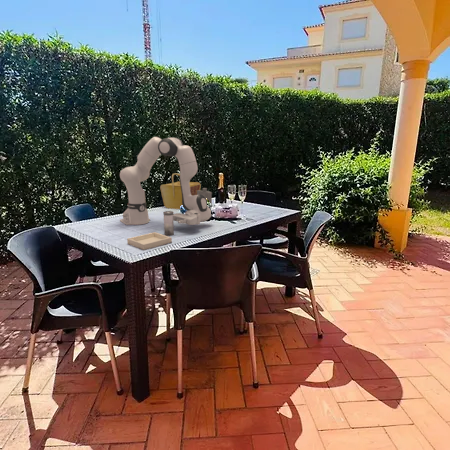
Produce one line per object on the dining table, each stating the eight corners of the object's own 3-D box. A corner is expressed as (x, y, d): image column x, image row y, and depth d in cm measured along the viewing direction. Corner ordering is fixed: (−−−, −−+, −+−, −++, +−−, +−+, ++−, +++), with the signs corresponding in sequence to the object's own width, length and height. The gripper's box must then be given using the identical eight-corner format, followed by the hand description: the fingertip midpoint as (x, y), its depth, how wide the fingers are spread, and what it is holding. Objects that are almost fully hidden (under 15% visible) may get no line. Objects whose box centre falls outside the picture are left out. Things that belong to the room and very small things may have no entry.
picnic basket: (177, 202, 294) (176, 170, 287) (201, 204, 285) (201, 171, 278) (160, 208, 268) (158, 173, 260) (186, 210, 259) (185, 174, 251)
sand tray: (127, 243, 170) (127, 238, 169) (154, 237, 183) (154, 232, 182) (144, 250, 160) (143, 244, 159) (171, 242, 172) (171, 237, 172)
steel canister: (162, 234, 188) (161, 212, 184) (170, 232, 192) (169, 210, 189) (168, 236, 184) (167, 213, 181) (176, 234, 188) (175, 212, 185)
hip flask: (196, 211, 254) (196, 187, 249) (200, 211, 257) (199, 187, 252) (209, 214, 243) (209, 189, 238) (213, 214, 246) (213, 188, 241)
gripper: (180, 210, 205) (163, 213, 195) (201, 214, 192) (184, 218, 182) (180, 219, 207) (163, 222, 197) (201, 224, 193) (184, 228, 183)
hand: (173, 220), depth 189 cm, fingers open, 8 cm apart
